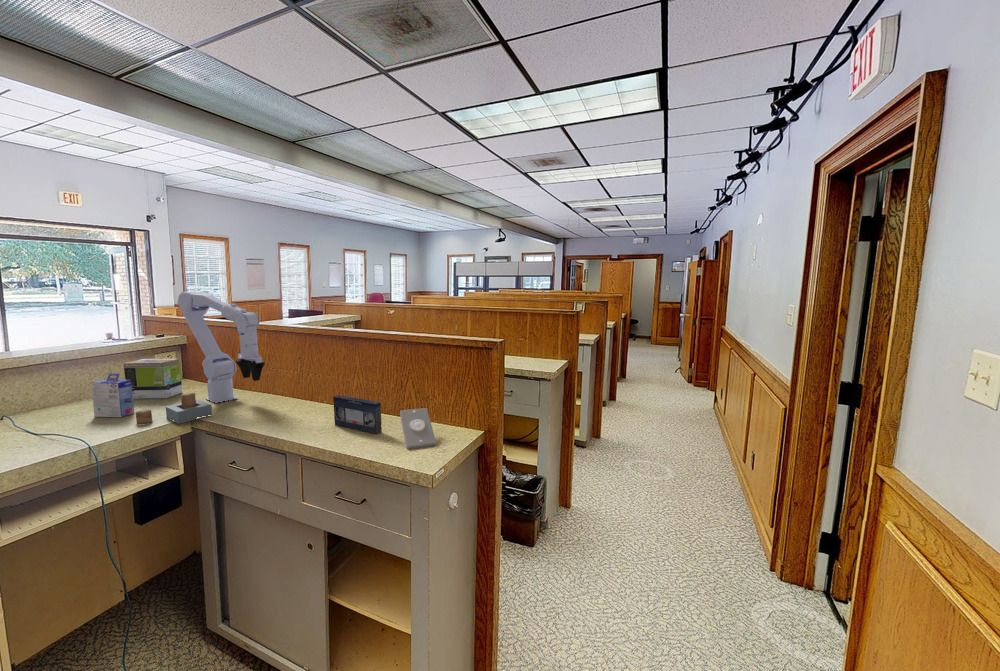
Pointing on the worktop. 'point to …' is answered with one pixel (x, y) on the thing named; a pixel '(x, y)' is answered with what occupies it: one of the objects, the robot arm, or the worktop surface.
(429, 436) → the light switch
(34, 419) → the worktop surface
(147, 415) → the brown wooden cube
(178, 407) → the block
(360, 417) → the vhs cassette tape
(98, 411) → the ink cartridge box
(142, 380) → the tea box
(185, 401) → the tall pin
